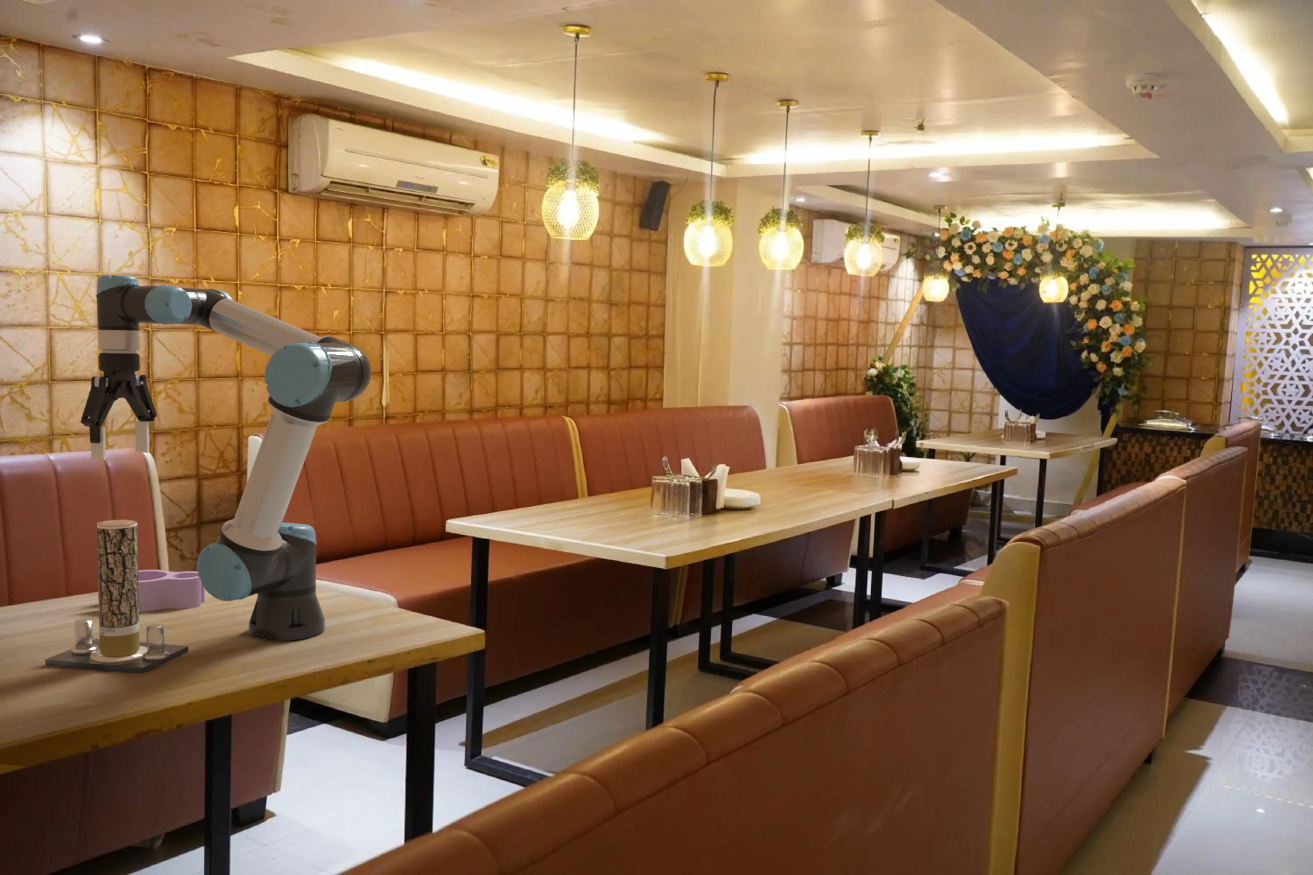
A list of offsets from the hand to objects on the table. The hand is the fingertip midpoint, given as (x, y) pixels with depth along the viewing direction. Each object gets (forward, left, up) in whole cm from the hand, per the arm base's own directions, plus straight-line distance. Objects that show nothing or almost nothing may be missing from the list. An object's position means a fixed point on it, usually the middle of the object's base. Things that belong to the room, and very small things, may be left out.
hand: (121, 455), depth 218 cm
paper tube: (-12, +18, -35) cm, 41 cm away
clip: (+7, -20, -37) cm, 43 cm away
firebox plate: (-11, +17, -37) cm, 42 cm away
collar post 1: (-5, +18, -36) cm, 40 cm away
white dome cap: (-12, +18, -36) cm, 42 cm away
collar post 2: (-20, +18, -35) cm, 44 cm away
